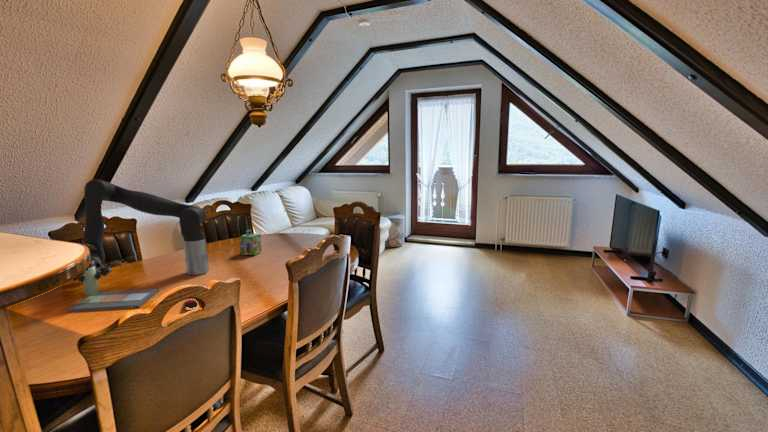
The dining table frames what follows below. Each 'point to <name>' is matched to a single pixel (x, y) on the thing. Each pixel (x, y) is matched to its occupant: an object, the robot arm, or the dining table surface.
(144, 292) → the picture board
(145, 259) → the dining table surface
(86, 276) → the green bottle grey cap
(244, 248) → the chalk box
